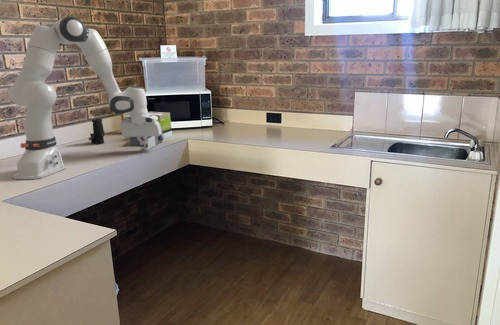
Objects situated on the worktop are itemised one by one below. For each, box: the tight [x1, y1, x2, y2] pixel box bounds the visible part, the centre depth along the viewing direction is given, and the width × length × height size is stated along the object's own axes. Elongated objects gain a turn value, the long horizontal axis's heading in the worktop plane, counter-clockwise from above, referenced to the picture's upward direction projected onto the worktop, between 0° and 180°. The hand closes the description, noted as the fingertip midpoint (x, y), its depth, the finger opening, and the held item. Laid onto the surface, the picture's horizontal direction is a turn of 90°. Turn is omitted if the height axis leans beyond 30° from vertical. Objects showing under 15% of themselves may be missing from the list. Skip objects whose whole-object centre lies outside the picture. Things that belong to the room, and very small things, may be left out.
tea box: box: [148, 111, 173, 141], centre depth 238 cm, size 15×10×15 cm, turn 63°
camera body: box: [129, 129, 165, 147], centre depth 226 cm, size 12×16×7 cm
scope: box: [88, 118, 106, 145], centre depth 230 cm, size 8×14×10 cm
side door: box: [143, 136, 157, 152], centre depth 213 cm, size 2×13×5 cm, turn 168°
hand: (143, 144), depth 210 cm, fingers closed
